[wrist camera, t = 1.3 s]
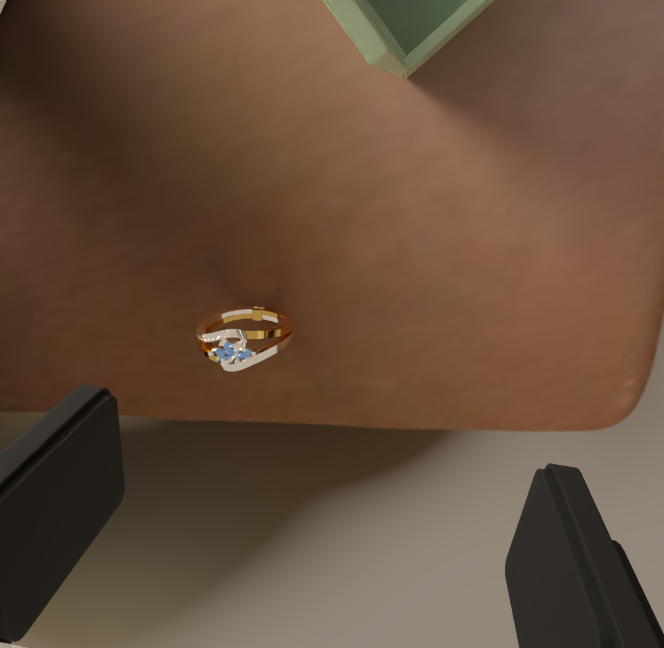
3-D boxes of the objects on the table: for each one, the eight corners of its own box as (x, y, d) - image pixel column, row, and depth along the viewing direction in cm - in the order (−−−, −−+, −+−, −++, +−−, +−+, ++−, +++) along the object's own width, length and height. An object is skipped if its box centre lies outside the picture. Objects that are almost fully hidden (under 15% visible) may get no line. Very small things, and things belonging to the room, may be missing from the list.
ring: (303, 295, 40) (278, 338, 32) (302, 332, 41) (278, 382, 34) (217, 287, 41) (174, 327, 33) (219, 324, 42) (178, 370, 35)
